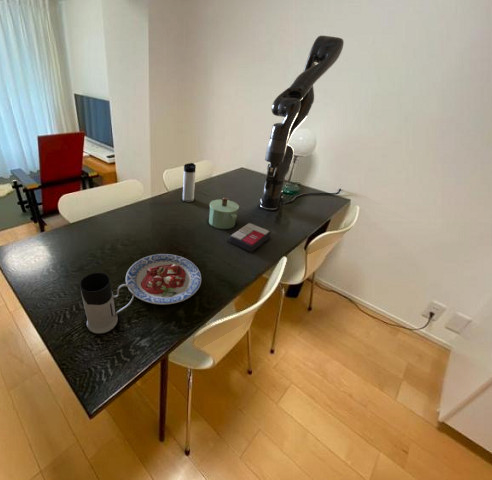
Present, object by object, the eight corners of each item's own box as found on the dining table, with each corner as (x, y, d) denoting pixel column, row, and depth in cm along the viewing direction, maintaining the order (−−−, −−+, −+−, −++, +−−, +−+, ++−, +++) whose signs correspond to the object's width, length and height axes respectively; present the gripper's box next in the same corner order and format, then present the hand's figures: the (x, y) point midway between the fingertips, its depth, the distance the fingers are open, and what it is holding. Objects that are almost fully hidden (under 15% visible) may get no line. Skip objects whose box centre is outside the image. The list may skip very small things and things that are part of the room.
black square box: (229, 234, 111) (248, 221, 120) (228, 242, 114) (247, 229, 122) (252, 245, 105) (271, 230, 114) (251, 253, 107) (269, 238, 116)
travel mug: (195, 198, 151) (197, 163, 140) (191, 202, 146) (193, 167, 135) (185, 196, 153) (187, 162, 142) (180, 200, 148) (182, 165, 137)
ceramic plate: (133, 257, 103) (132, 250, 101) (199, 259, 102) (199, 253, 101) (118, 307, 81) (117, 300, 79) (202, 310, 80) (203, 303, 79)
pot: (222, 212, 137) (224, 197, 132) (243, 228, 123) (246, 212, 119) (201, 216, 132) (202, 201, 128) (220, 233, 119) (223, 217, 114)
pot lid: (227, 199, 131) (229, 190, 129) (244, 211, 121) (246, 201, 118) (204, 204, 126) (204, 194, 124) (219, 216, 116) (220, 206, 113)
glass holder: (90, 309, 80) (82, 271, 72) (137, 308, 81) (134, 270, 73) (83, 333, 73) (73, 294, 64) (135, 332, 73) (131, 292, 65)
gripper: (284, 155, 106) (275, 192, 115) (285, 147, 117) (277, 182, 126) (265, 152, 108) (257, 190, 117) (268, 145, 120) (261, 179, 128)
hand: (267, 185), depth 122 cm, fingers open, 8 cm apart
